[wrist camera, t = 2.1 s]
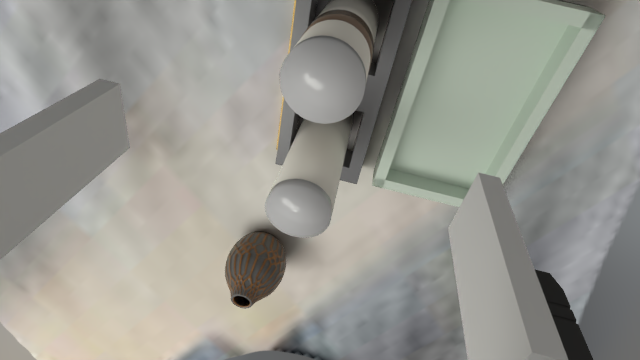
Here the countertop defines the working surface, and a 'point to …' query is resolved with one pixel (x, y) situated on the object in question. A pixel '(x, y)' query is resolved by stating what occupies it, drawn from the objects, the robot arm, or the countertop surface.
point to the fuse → (309, 179)
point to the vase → (254, 268)
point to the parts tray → (478, 91)
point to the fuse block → (372, 94)
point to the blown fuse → (331, 62)
